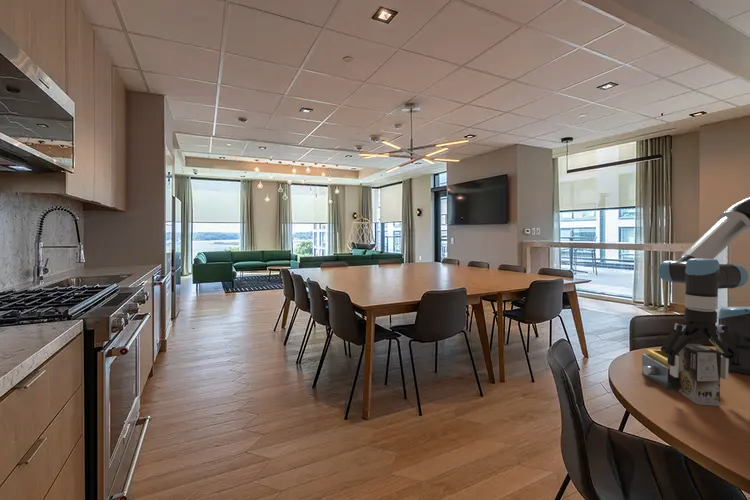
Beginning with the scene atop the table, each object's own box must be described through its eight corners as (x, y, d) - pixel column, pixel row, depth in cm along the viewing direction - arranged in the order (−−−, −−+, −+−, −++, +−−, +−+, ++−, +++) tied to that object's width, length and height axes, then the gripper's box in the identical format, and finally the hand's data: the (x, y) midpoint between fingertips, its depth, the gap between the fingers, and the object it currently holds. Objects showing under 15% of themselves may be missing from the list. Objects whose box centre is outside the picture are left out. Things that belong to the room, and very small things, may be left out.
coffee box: (721, 406, 108) (722, 352, 108) (696, 404, 110) (697, 351, 109) (700, 393, 117) (701, 343, 117) (677, 391, 119) (678, 342, 118)
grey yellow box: (684, 374, 133) (684, 350, 132) (715, 391, 118) (715, 364, 118) (633, 372, 135) (633, 349, 135) (657, 389, 121) (657, 362, 120)
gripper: (736, 307, 114) (733, 374, 115) (648, 305, 118) (646, 370, 119) (757, 312, 107) (754, 384, 108) (663, 310, 110) (661, 379, 111)
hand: (698, 377), depth 113 cm, fingers open, 13 cm apart
